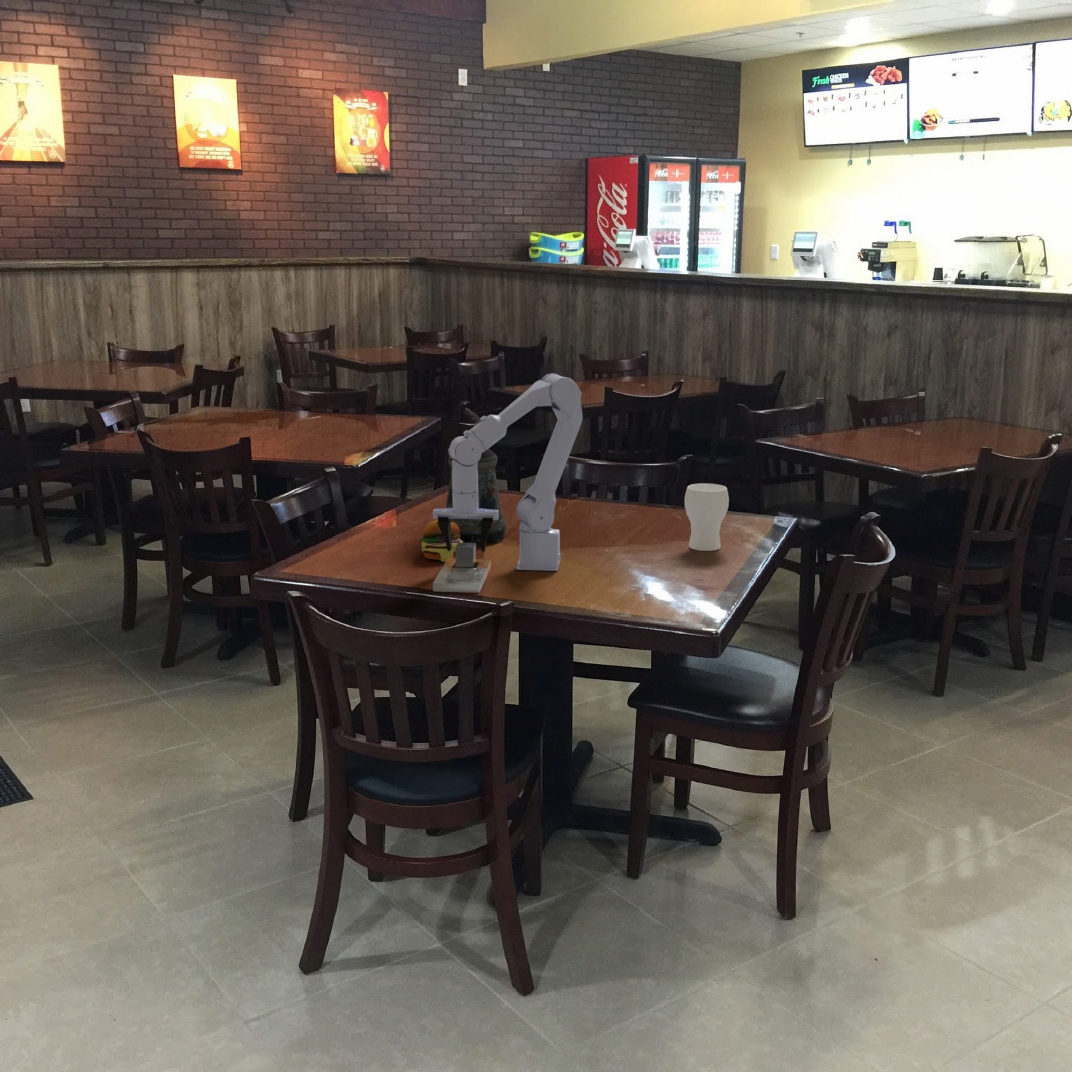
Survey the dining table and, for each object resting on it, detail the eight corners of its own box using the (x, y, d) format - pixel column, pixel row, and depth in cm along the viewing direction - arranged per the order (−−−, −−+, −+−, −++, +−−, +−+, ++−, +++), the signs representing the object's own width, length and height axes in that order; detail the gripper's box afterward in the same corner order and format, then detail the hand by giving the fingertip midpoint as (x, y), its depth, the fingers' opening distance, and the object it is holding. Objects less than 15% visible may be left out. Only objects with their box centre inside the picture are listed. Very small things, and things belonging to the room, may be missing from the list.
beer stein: (477, 549, 275) (476, 447, 269) (418, 536, 286) (416, 439, 280) (519, 535, 288) (519, 438, 281) (461, 524, 299) (460, 430, 293)
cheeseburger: (425, 564, 261) (422, 521, 261) (418, 563, 272) (415, 521, 271) (468, 560, 264) (465, 518, 264) (459, 559, 274) (456, 518, 274)
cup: (725, 554, 271) (728, 492, 267) (681, 551, 273) (683, 490, 269) (727, 543, 281) (730, 483, 278) (684, 540, 283) (686, 482, 280)
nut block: (476, 570, 257) (475, 543, 255) (473, 575, 253) (473, 547, 251) (458, 570, 257) (458, 542, 255) (455, 575, 253) (455, 547, 252)
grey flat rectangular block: (491, 566, 260) (491, 559, 259) (479, 592, 240) (479, 584, 240) (448, 565, 260) (447, 558, 260) (432, 591, 241) (432, 583, 241)
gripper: (429, 494, 247) (431, 554, 251) (495, 495, 246) (496, 555, 249) (435, 487, 254) (436, 545, 258) (499, 488, 253) (500, 547, 256)
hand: (466, 550), depth 254 cm, fingers open, 7 cm apart
